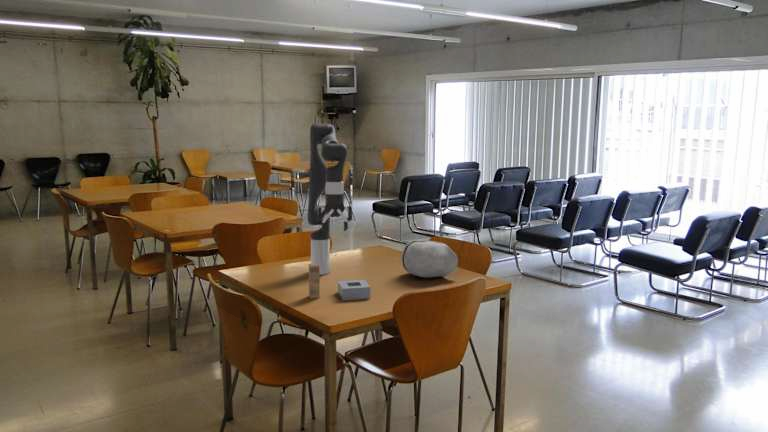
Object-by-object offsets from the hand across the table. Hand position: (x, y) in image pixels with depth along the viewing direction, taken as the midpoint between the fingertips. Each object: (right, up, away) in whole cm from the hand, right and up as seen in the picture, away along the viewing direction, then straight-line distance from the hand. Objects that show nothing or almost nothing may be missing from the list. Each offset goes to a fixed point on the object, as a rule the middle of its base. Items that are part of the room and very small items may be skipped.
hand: (334, 231), depth 252 cm
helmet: (+43, -23, +45) cm, 66 cm away
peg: (-9, -28, +8) cm, 31 cm away
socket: (+7, -28, +11) cm, 31 cm away
